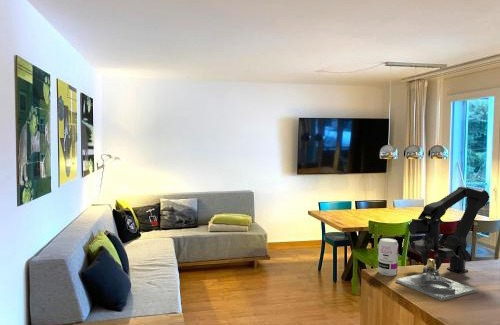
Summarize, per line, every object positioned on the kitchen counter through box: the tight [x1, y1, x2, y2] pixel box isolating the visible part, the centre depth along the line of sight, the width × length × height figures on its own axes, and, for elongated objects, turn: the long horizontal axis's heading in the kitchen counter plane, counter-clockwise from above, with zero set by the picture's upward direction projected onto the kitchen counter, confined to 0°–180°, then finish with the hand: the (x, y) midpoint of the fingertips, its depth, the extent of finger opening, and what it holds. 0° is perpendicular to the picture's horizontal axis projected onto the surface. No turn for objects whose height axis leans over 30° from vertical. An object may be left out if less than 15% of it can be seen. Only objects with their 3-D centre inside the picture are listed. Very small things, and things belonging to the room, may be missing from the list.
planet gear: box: [422, 258, 440, 274], centre depth 178 cm, size 6×6×6 cm
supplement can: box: [377, 237, 399, 277], centre depth 177 cm, size 8×8×15 cm
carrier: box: [395, 272, 478, 302], centre depth 161 cm, size 20×22×4 cm
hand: (430, 267), depth 178 cm, fingers open, 6 cm apart
